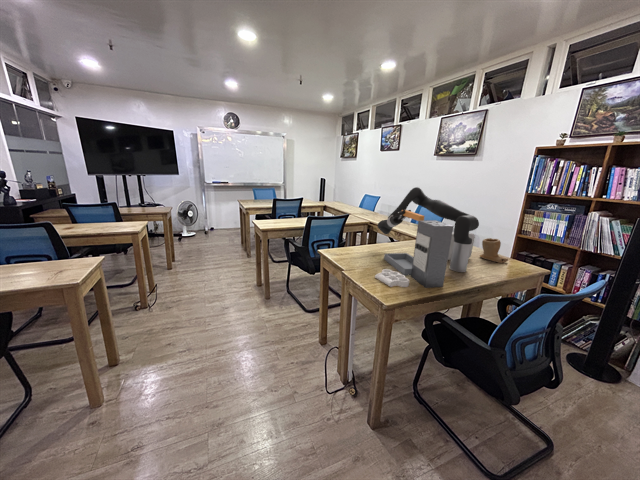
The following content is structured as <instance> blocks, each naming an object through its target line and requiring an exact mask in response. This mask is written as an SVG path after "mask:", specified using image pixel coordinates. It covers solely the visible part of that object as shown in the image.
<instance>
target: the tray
mask: <svg viewBox="0 0 640 480" xmlns="http://www.w3.org/2000/svg"><path fill="white" fill-rule="evenodd" d="M413 257H414V256H412V255H411V254H409V253H407V252H397V253H396V252H393V253H384V255H383V260H384V261H385V262H387V264H389V265H390V266H391V267H392V268H394V269H395V270H397V272H399V273H400V274H402V275H404V276H405V277H406V276H411V272H412V264H413Z"/></svg>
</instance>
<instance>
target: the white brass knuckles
mask: <svg viewBox="0 0 640 480" xmlns="http://www.w3.org/2000/svg"><path fill="white" fill-rule="evenodd" d="M374 278H375V279H377V280H378V281H380V282H381V283H384V284H385V285H387V286H388V287H390V288H391V287H396V286H398V287H401V288H407V287H410V279H409V278H407V276H406V275H405V276H404V275H403V274H402V273H400V272H399V271H396V270H395V271H394V270H392V269H389V268H383V269H382V270H381V272H379V273H376V274H375V275H374Z"/></svg>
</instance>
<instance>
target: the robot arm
mask: <svg viewBox="0 0 640 480" xmlns="http://www.w3.org/2000/svg"><path fill="white" fill-rule="evenodd" d="M403 198H404V199H402V201H401V202H400V204H399V205H398V206H397V207H396V208H395V209H394V210H393V211H392V213H390V214H389V215H388V217H387V219H382V220H381V221H379V222H378V223H377V224H376V225H377V228H378V229H379V230H380V232H382V234H384V235H388V234H390V233H391V231H392V230H393V228H395V227H396V226H398V225H400V224H402V222H403V221H404V220H405V219H410V218H409V217H406V216H403V214H405V213H406V212H405V210H408V211H411V212H412V210H411V209H407V208H408V206H409V205H410V204H411V203H412V202H413V204H415V205H417V206H420V207H422V208H424V209H426V210H427V211H429V212H431V213H432V214H433V215H436V216H437V217H440V218H442V219H445V220H450V221H453V222H454V227H453V232H454V244H453V249H452V255H451V260H449V261H450V262H449V266H448V268H449V270H451V271H452V272H453V271H454V272H456V273H457V272H458V273H465V272H467V267H468V264H469V263H468V262H469V260H470V258H469V254H470V249H471V244H472V239H471V238H470V237H469V233H470V232H472V231H475V230H477V229H478V228H479V225H480V222H479V220H478V218H477V217H476V216H474V215H473V214H469V213H466V212H464V211H462V210H459V209H457V208H456V207H454V206H452V205H450V204H449V203H447V202H445V201H444V200H443V201H442V200H441V199H432V198H431V197H428V195H426V194H425V193H424V191H423V190H422V188H420V186H417V187H413V188H412V189H411V190H409V192H408V193H407V194H406V195H405V196H404V197H403ZM402 210H403V211H402Z"/></svg>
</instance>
